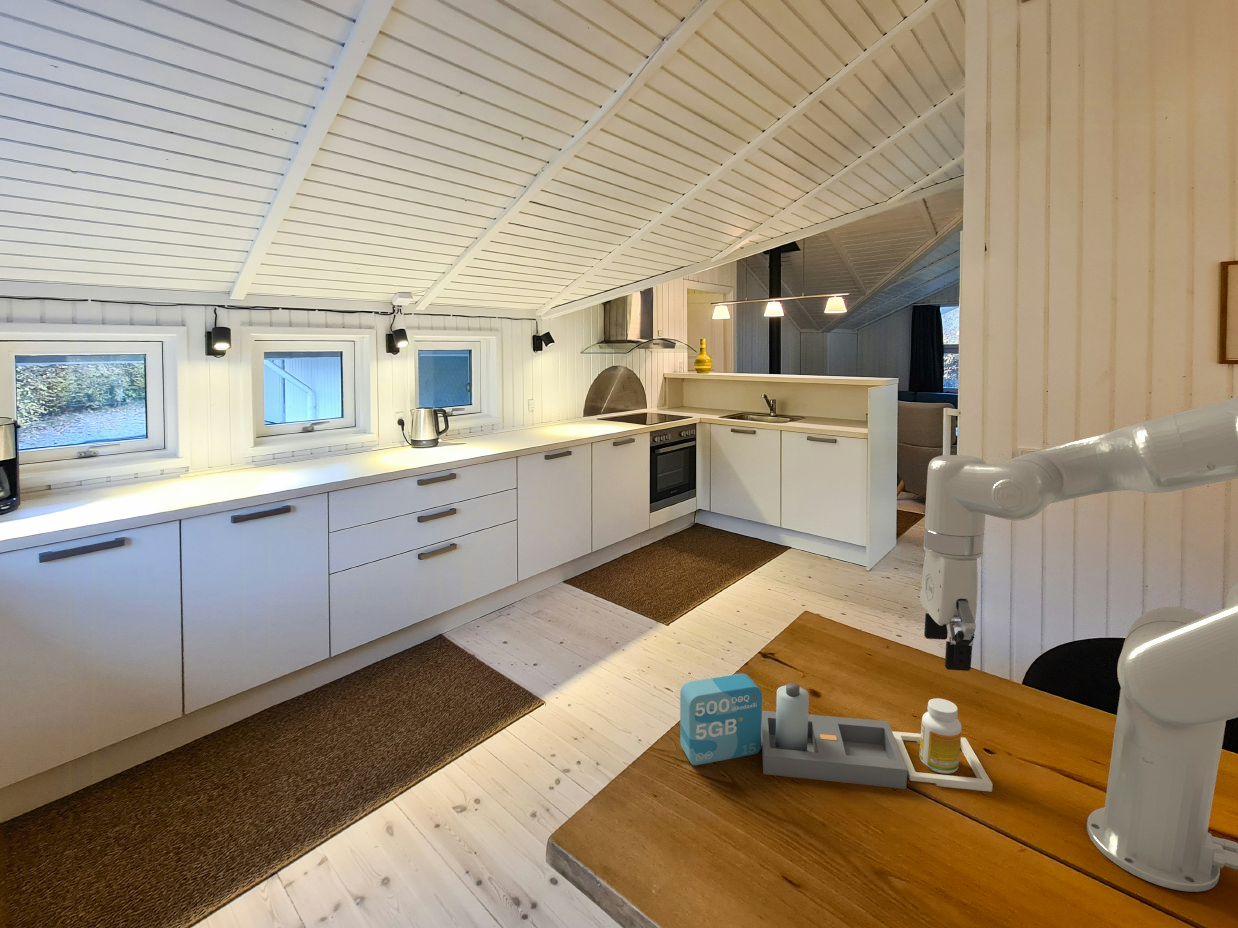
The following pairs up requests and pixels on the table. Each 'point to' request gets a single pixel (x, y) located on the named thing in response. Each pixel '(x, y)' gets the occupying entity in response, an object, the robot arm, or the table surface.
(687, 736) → the data package
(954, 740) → the supplement bottle
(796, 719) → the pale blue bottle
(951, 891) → the table surface
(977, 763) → the tray frame
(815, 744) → the grey compartment tray
